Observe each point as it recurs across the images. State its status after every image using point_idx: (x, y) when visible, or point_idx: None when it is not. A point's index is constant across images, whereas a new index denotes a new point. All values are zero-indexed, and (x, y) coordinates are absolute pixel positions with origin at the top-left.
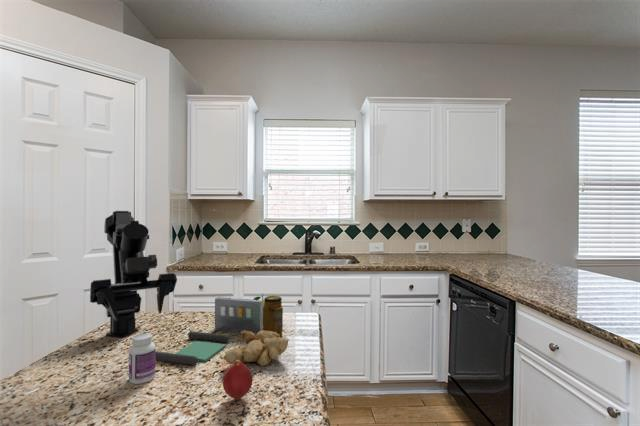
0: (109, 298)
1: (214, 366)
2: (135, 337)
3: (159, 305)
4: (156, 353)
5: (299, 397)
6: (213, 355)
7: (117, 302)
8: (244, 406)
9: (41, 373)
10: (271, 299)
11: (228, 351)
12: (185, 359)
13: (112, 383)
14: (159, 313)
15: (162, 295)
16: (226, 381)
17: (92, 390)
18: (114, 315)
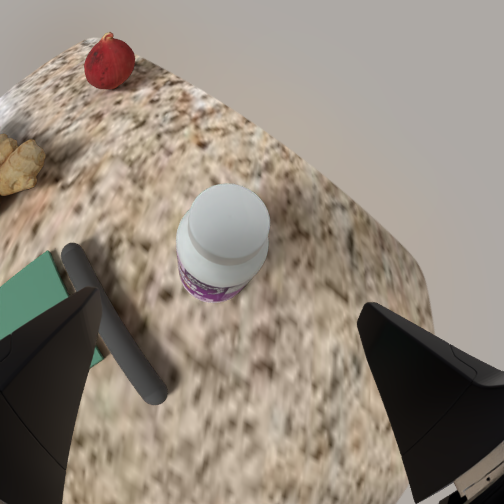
0: (489, 371)
1: (51, 213)
2: (258, 224)
3: (77, 309)
4: (145, 372)
5: (65, 63)
6: (21, 272)
7: None
8: None
9: None
10: None
11: (28, 155)
12: (88, 266)
13: (281, 296)
14: (100, 308)
15: (2, 352)
16: (132, 53)
17: (321, 287)
18: (390, 311)
